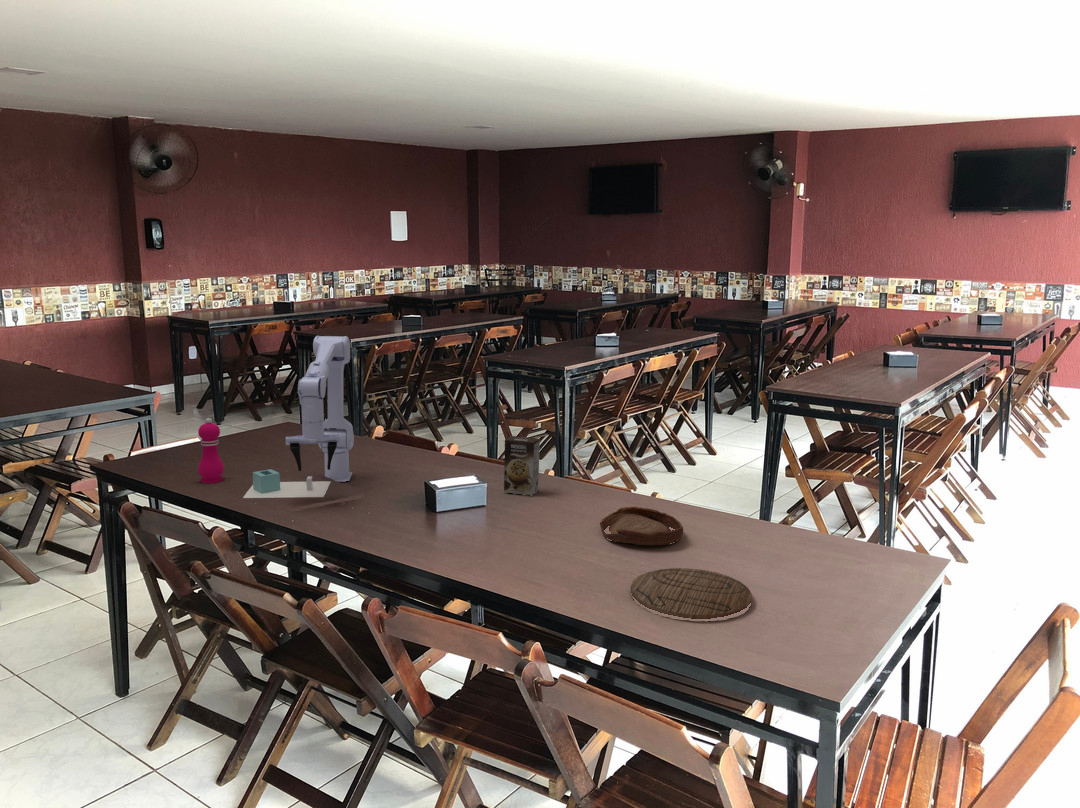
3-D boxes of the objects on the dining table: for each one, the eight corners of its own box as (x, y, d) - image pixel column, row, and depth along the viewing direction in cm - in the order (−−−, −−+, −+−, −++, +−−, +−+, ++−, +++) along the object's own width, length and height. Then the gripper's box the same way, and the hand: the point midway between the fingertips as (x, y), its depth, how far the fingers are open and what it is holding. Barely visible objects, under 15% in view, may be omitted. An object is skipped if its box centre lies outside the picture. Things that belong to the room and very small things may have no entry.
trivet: (741, 632, 170) (741, 623, 170) (615, 611, 179) (616, 602, 179) (759, 586, 193) (760, 578, 193) (647, 569, 202) (648, 561, 202)
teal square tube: (253, 489, 255) (252, 472, 254) (271, 485, 258) (271, 469, 258) (261, 493, 251) (260, 476, 250) (280, 490, 254) (279, 473, 253)
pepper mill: (229, 481, 267) (225, 416, 263) (218, 487, 260) (214, 420, 256) (205, 480, 268) (202, 415, 264) (194, 486, 260) (190, 420, 257)
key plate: (254, 486, 262) (254, 471, 261) (330, 485, 264) (330, 470, 264) (242, 502, 246) (242, 486, 246) (323, 500, 249) (323, 485, 248)
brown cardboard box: (503, 493, 259) (503, 439, 256) (510, 488, 265) (510, 435, 262) (532, 496, 256) (533, 442, 253) (539, 490, 262) (540, 437, 259)
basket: (586, 526, 231) (587, 508, 230) (655, 519, 238) (656, 501, 237) (624, 556, 210) (625, 536, 209) (698, 547, 217) (699, 527, 216)
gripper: (284, 424, 236) (286, 474, 239) (340, 423, 239) (341, 472, 242) (285, 419, 243) (287, 467, 245) (340, 417, 246) (341, 465, 248)
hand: (314, 469), depth 244 cm, fingers open, 7 cm apart
